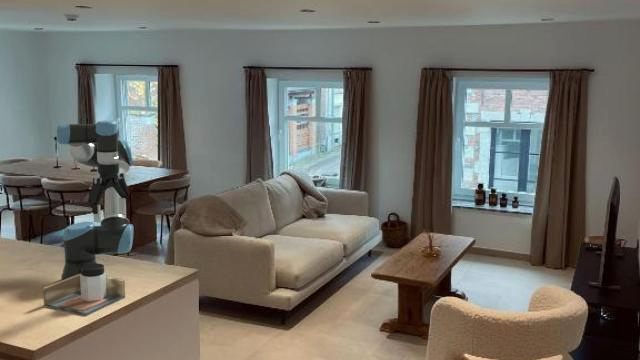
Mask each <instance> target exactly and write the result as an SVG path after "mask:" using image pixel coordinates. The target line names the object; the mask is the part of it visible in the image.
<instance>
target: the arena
mask: <svg viewBox="0 0 640 360" xmlns="http://www.w3.org/2000/svg"><path fill="white" fill-rule="evenodd" d="M80 275H81V273H80V274H78V275H75V276H72V277H70V278H67V279H65V280H62V281H61V280H60V281H57V282H55V283H52V284H49V285H47V286H44V287H42V292H43V306H44V307H45V306H46V307H45V308H49V307H51V309H54V310H58V309H59V311H64V312H68V313H72V314H76V315H81V316H86V317H88V316H89V315H91V314H94V313H95V312H98V311H100V310H102V309H104V308H105V307H106V308H107V306H110V305H112V304H114V303H116V302H119V301H121V300H123V299H126V285H125V282H126V281H125V279H122V278H117V277H112V276H106V294H107V296H105V297H104V298H103V299H102V300H98V301H90V302H88V301H86V300H83V299H81V285H80Z"/></svg>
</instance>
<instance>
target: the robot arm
mask: <svg viewBox="0 0 640 360" xmlns="http://www.w3.org/2000/svg"><path fill="white" fill-rule="evenodd" d="M119 137H120V131H119V128H118V123H117V121H115V120H100V121H99V120H98V121H97V122H95V123H91V124H89V123H86V124H85V123H84V124H81V123H77V124H76V123H73V124H72V123H71V124H69V123H65V124H58V125H57V126H56V140H57V143H58V144H59V145H67V146H68V147H69V151H70V155H71V157H72V159H74V160H75V161H76V162H77V163H79V164H81V165H83V166H86V167H91V168H93V167H94V168H97V173H98V175H99V177H93V178H92V184H91V185H92V186H91V188H90V192H89V195H88V197H87V198H88V199H87V204H88V205H90V206H92V207H91V209H92V215H93V221H92V222H91V221H83V222H76V223H73V224H70V225H68V226H67V227H65V228H64V230H63V248H64V250H63V251H64V265H63V269H62V270H63V271H62V274H61V277H60V278H61V280H60V281H62V280H65V279H67V278H70V277H72V276H75V275H78V274H80V273H81V267H82V266H84V265H87V264H94V263H97V264H98V262H97V261H96V257H97V256H96V255H113V254H114V255H115V254H118V255H120V254H126V253H129V252H131V249H132V247H133V241H134V225H133V224H131V222H130V219H128V218H127V199H128V198H129V196H131V192H130V190H129V187H128V185H127V178H126V177H127V175H126V174H127V173H128V172H129V170H130V168H131V167H132V166H133V165H134V164H133V163H134V162H133V155H132V147H131V144H130V142H129V141H128V140H123V139H122V140H121V139H119ZM103 196H104V218H103V219H102V214H101V213H102V212H101V205H100V202H101V200H102V199H103ZM95 223H99V224H100V225H95Z"/></svg>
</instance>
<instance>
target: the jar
mask: <svg viewBox="0 0 640 360" xmlns="http://www.w3.org/2000/svg"><path fill="white" fill-rule="evenodd" d="M106 275H107V274H106V271H105V265H104V264H102V263H98V262H97V263H94V264H87V265H84V266H82V267H81V275H80V285H81V299H83V300H86V301H88V302H90V301H98V300H102V299H103V298H104V297H105V296H107V294H106Z"/></svg>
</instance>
